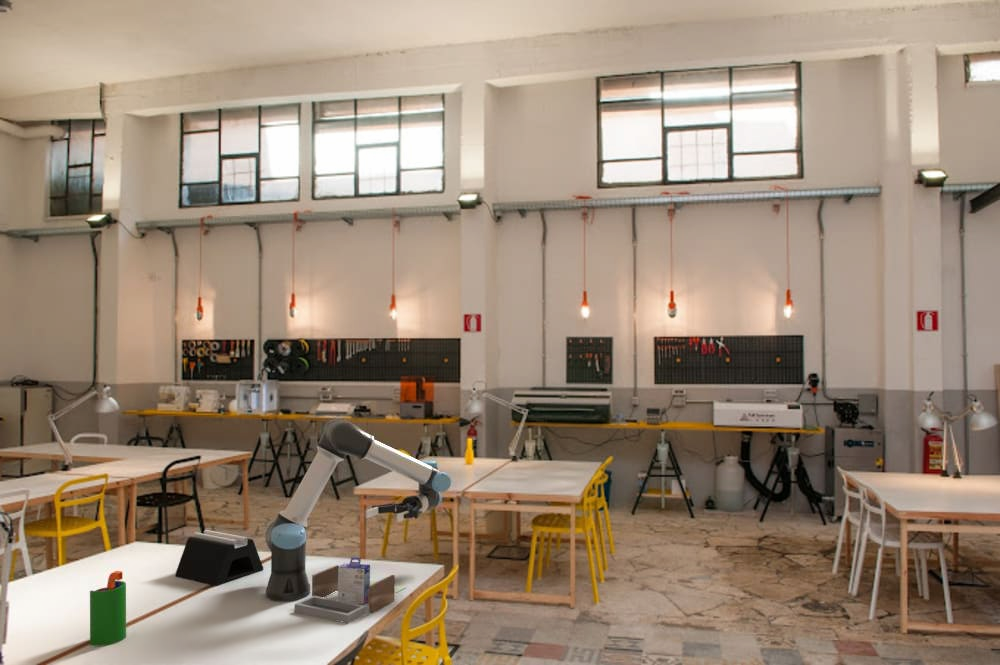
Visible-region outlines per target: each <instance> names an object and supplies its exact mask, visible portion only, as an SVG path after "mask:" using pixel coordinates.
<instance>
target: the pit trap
mask: <svg viewBox="0 0 1000 665" xmlns="http://www.w3.org/2000/svg"><path fill="white" fill-rule="evenodd" d="M294 613H299V614H302V615H303V614H304V615H308V616H312V617H317V618H321V617H323V618H322V619H326V618H327V620H330V619H332V620H331V621H335V620H338V621H337V622H340V621H343V622H342V623H344V622H347V623H346V624H350V623H351V622H353V621H355V620H358V619H359V618H360V617H362V616H363V617H364V616H365V615H366V614H367V606H366V605H364V604H353V603H348V602H343V601H338V599H332V598H328V597H324V598H323V597H318V596H312V595H311V596H310V597H308V598H305V599H304V600H300V601H299V602H296V603H295V604H294ZM364 614H365V615H364ZM350 621H351V622H350ZM349 622H350V623H349Z"/></svg>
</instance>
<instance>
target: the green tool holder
mask: <svg viewBox="0 0 1000 665" xmlns="http://www.w3.org/2000/svg"><path fill="white" fill-rule="evenodd" d="M126 637H127V583H126V582H125V581H123V571H120V570H115V571H113V572H111V573H110V574H109V575H108V579H107V584H106V587H101V588H98V589H96V590H89V645H90V646H93V647H94V646H97V647H99V646H108V645H113V644H116V643H118V642H121V641H123V640H124V639H125V638H126Z"/></svg>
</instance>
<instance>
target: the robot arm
mask: <svg viewBox="0 0 1000 665" xmlns="http://www.w3.org/2000/svg"><path fill="white" fill-rule="evenodd" d="M316 448H317V453H316V454H315V456H314V458H313V460H312V462H311V463H310V466H309V467H308V469H307V471H306V472H305V475H304V476H303V478H302V480H301V482H300V483H299V485H298V487H297V488H296V491H295V492H294V494H293V496H292V497H291V500H290V501H289V503H288V504H287V506H286V508H285V509H284V510H281V511H279V513H278V514H277V516H276V518H275V520H273V521H272V522H271V523H270V524H269V525H268V527H267V528H266V531H265V543H266V546H267V547H268V550H269V551H270V552H271V553H270V554H271V559H270V561H271V562H270V563H271V564H270V565H271V566H270V568H271V570H270V571H271V572H270V575H269V578H268V581H267V582H268V583H267V586H266V587H265V597H266V598H267V600H270V601H276V602H289V601H296V600H299V599H303V598H305V597H308V596H309V595H310V594H311V584H310V583H309V579H308V575H307V571H306V557H307V556H306V553H307V552H306V547H307V546H306V543H307V542H306V540H307V533H306V532H307V531H306V530H307V528H308V521H307V519H308V518H309V516H310V514H311V512H312V511H313V509H314V507H315V506H316V503H317V502H318V500H319V498H320V497H321V494H322V493H323V491H324V490H325V487H326V485H327V484H328V481H329V479H331V478H330V477H331V476H332V474H333V472H334V471H335V469H336V467H337V465H338V463H340V462H343V461H345V459H346V457H347V455H348V456H351V457H354V458H357V459H358V460H364V459H366V460H368V461H370V462H372V463H375V464H377V465H378V466H382V467H384V468H386V469H388V470H390V471H392V472H394V473H397V474H399V475H401V476H403V477H405V478H407V479H410V480H411V481H414V482H416V483H418V492H417V493H416V494H412V495H409V496H406V497H404V498H403V499H402V501H401V502H399V503H396V502H390V503H383V504H376V505H372V506H371V508H369V509H366V510H365V518H366V519H368V518H371V517H375V516H377V515H379V514H387V513H389V514H391V513H392V514H396V523H400V522H402V521H406V520H408V519H413V518H414V519H418V518H419V517H420V515H421V514H423V513H425V512H428V511H431V510H434V509H436V508H438V507H439V506H440V505H441V504H442V501H443V496H442V493H445V492H446V491H448V490H449V489H450V488H451V485H452V479H451V476H450V475H449V474H448V473H446V472H445V471H442V470H440V469H439V465H438V462H437V461H436V460H432V459H431V460H422V461H421V460H418V459H417V458H415V457H413V456H410V455H407V454H406V453H403V452H401V451H400V450H397V449H395V448H393V447H391V446H389V445H386V444H385V443H382V442H381V441H378V440H376V439H375V437H374V435H373V434H369V433H368V432H366V431H365V430H363V429H362V428H360V427H359V426H357V425H356V424H354V423H352V422H351V421H349V420H347V419H343V418H335V419H332V420H330V421H328V422H327V423H326V424H325V425H324V427H323V429H322V433H321V436H320V439H319V441H318V443H317V444H316Z"/></svg>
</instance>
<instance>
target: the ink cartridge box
mask: <svg viewBox="0 0 1000 665" xmlns="http://www.w3.org/2000/svg"><path fill="white" fill-rule="evenodd" d="M350 558H351V559H350V561H349V563H343V564H341V565H339V568H338V592H337V600H338V601H343V602H348V603H353V604H358V605H365V604H367V603H369V585H370V581H371V565H370V564H366V563H365V564H364V563H361V561H362V560H361V559H362V558H361V557H350ZM354 560H356V561H354Z"/></svg>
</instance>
